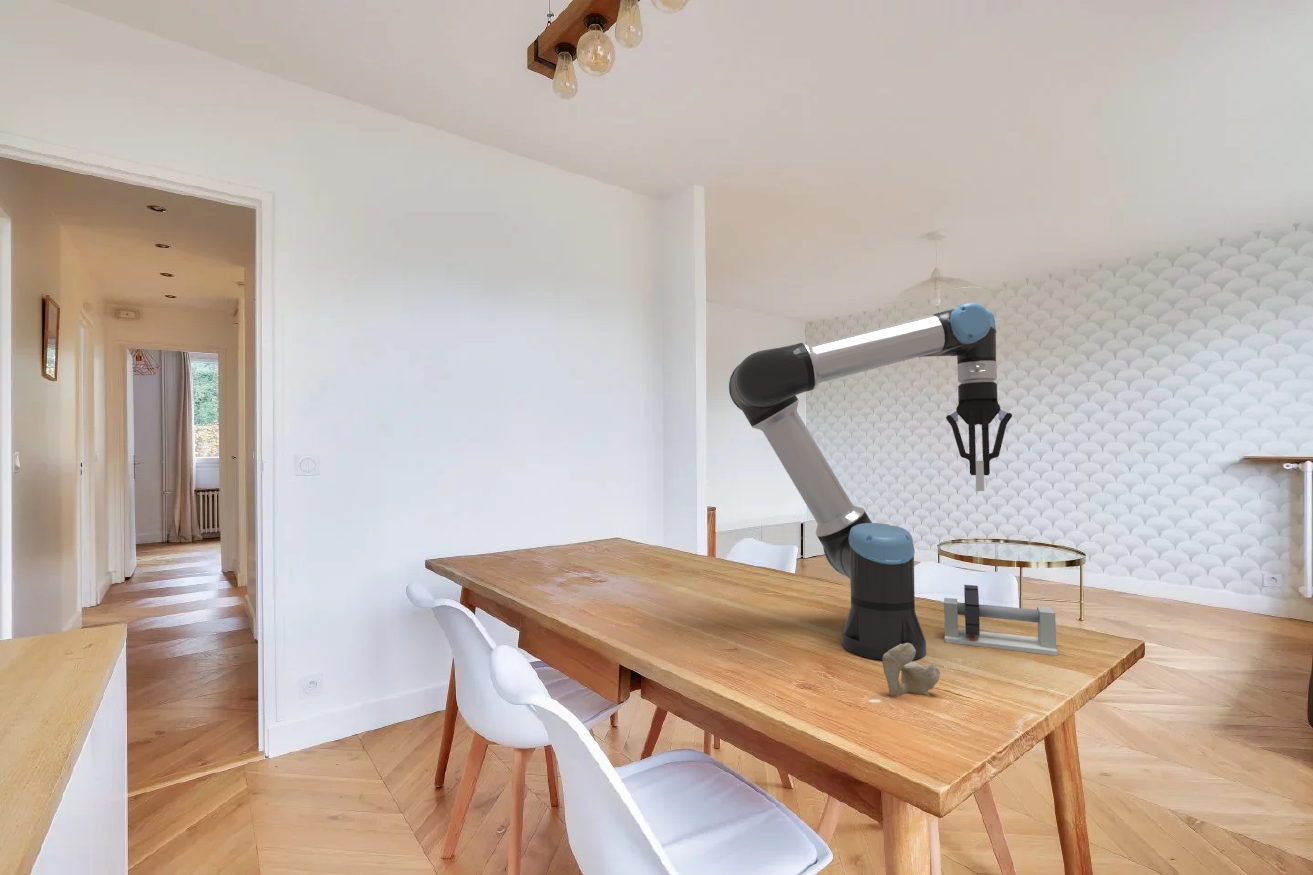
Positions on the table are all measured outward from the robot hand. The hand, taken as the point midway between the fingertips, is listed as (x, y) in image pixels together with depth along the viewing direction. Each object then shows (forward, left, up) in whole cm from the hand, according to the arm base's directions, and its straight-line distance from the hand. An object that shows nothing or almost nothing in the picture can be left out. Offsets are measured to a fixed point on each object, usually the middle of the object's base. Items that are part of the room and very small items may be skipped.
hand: (980, 490), depth 129 cm
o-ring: (-2, -11, -28) cm, 30 cm away
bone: (-12, -44, -30) cm, 54 cm away
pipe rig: (+2, -11, -29) cm, 31 cm away
